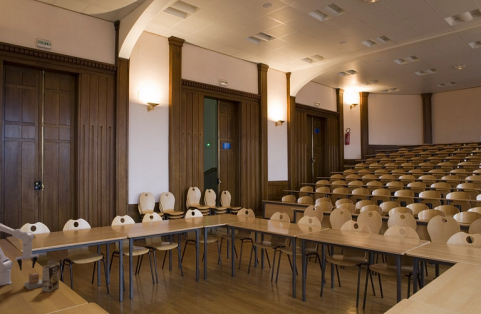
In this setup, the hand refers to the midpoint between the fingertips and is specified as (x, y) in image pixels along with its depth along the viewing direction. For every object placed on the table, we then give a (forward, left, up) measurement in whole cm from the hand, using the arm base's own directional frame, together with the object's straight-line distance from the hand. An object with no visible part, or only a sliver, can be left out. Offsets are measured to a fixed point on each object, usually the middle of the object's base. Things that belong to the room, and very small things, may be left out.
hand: (27, 268), depth 253 cm
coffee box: (+23, +10, -11) cm, 27 cm away
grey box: (+9, +3, -11) cm, 15 cm away
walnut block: (+9, +3, -8) cm, 12 cm away
